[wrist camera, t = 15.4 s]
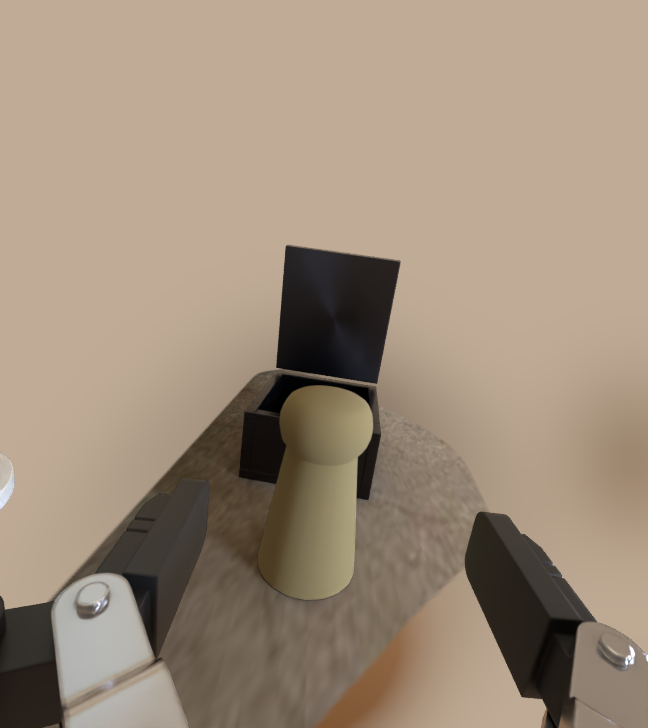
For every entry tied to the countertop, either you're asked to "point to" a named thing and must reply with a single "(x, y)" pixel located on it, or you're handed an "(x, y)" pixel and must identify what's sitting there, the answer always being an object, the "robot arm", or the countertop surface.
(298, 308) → the warmer lid
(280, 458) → the box
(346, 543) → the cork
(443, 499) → the countertop surface
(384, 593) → the countertop surface
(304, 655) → the countertop surface
